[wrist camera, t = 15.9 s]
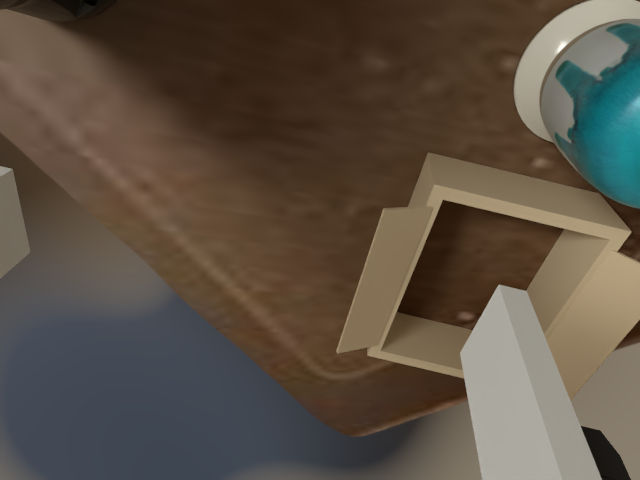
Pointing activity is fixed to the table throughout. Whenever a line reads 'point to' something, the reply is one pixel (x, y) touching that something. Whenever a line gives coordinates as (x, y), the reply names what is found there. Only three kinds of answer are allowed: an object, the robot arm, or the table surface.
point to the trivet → (601, 7)
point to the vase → (598, 107)
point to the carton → (544, 291)
